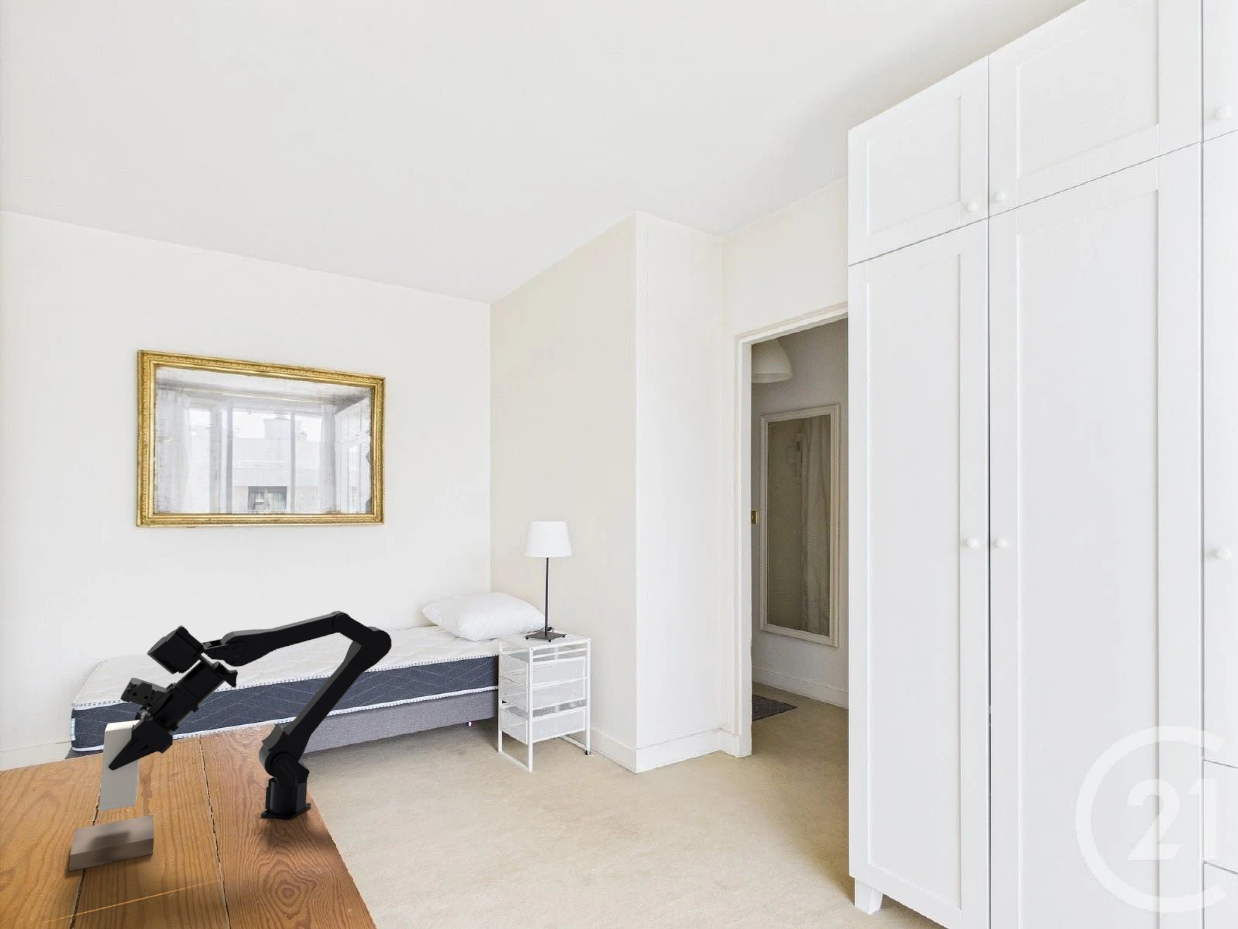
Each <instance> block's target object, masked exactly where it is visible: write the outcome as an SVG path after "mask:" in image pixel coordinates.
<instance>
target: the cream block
mask: <svg viewBox="0 0 1238 929" xmlns="http://www.w3.org/2000/svg"><path fill="white" fill-rule="evenodd" d="M138 721H140V720H136V721H135V720H130V721H119V722H109V723H107V725H106V727H105V730H104V738H103V751H102V765H101V777H100V778H101V779H100V790H99V791H100V792H99V805H98V807H99V808H98V812H104V811H109V810H110V811H111V810H115V809H116V810H118V809H123V808H129V807H135V806H136V805H137V799H138V792H139V791H138V790H139V776H140V764H141V763H140V762H141V758H140V759H138V760H136V761H134V762H131V763H129V764H127V765H125V766H123V767H120V768H118V769H116V770H114V771H112V770H111V769H109V768H108V766H109V764H110V763H111V762H112V761H113V759H114V758H115V757H116V756H117V755H118V753H119V752H120V751H121V750H122V749H123V747H124V746H125V745H126V744H127V743H128V741H129V740H130V739H131V730H132V726H133V724H134V725H136V724H137V723H138Z"/></svg>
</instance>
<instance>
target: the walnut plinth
mask: <svg viewBox="0 0 1238 929" xmlns="http://www.w3.org/2000/svg"><path fill="white" fill-rule="evenodd" d="M154 831H155V830H154V814H150V815H143V816H139V817H138V816H137V817H133V818H128V819H123V820H122V819H121V820H116V821H112V822H111V821H110V822H105V823H99V824H96V825H95V824H94V825H90V826H85V827H80V828H75V829H74V833H73V839H72V844H71V849H70V854H69V865H68V872H73V871H78V870H84V869H87V868H92V867H98V866H102V865H107V864H111V863H116V862H121V861H126V860H130V859H135V858H139V857H143V856H149V855H152V854H154V846H155V843H154V842H155V841H154V840H155V833H154Z"/></svg>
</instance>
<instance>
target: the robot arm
mask: <svg viewBox="0 0 1238 929" xmlns="http://www.w3.org/2000/svg"><path fill="white" fill-rule="evenodd" d="M335 634H341V635H343V636H344V637H345V638H347V639H348V640H350V641H351V643H350V645H349V646H348V649H347V652H346V654H345V657H344V659H343V661H342V662H341V663H340V664H339V666H338V667H337V668H336V669H335V671H333V673H332V674H331V675H330V676H329V678H328V679H327V680H326V681H325V682H324V683H323V685H322V686H321V687H320V689H319V690H318V691H317V692H316V693H315V694H314V696H313V697H312V698H311V699H310V700H309V702H308V703H307V704H306V705H305V706H304V707H303V708H302V710H301V711H300V712H299V713H298V714H297V716H295V718H294V719H293V720H292V721H291V722H289V723H288V724H286V725H285V726H284V727H282V726H281V725H280V724H279V723H276V725H275V726H274V727H273V729H272V730H271V732H270V733H269V735H268V736H266V737H265V738H264V739H262V740H261V743H262V745H261V747H260V749H259V751H258V760H259V762H260V764H261V766H262V767H263V769H264V770H265V772H266V774H268V775H269V776H271V777H270V778H269V779H268V780H267V781H268V782H267V786H266V788H265V798H264V800H265V801H264V809H265V810H264V811H262V812H260V816H261V817H265V818H275V819H284V820H291V819H294V818H295V817H296V816H298V815H299V814H301V813H303V812H304V811H306V810H307V809H309V808H310V807H312V803H311V802H307V794H308V792H307V791H308V790H307V789H308V778H309V775H310V770H309V768H308V767H307V766H306V765H305V763H304V762H303V761H302V760H301V759H302V756H303V755H304V753H305V751H306V749H307V746H308V745H309V744H308V743H309V741H310V739H311V737H312V735H313V734H314V732H315V731H316V730H317V728H319V726H320V725H321V724H322V722H323V721H324V720H325V719H326V718H327V716H328V715H329V714H330V713H331V712H332V710H333V709H334V708H335V707H336V705H337V704H338V703H339V702H340V701H341V699H342V698H343V697H344V695H345V694H346V693H347V692H348V691H349V689H350V688H351V687H352V686H353V685H354V683H355V682H356V681H357V680H358V679H359V677H361V675H362V674H363V673H365V672H366V671H368V670H370V669H371V668H373V667H374V666H377V664H378V663H379V662H380V661H381V660H382V659H384V658H385V657H386V656H387V655H388V654H389V653H390V651H391V650H392V646H393V645H392V638H391V635H390V634H389V632H387V631H385V630H383V629H380V628H378V627H376V626H366V625H364V624H363V623H361V622H360V621H357V620H356V619H354V618H352V617H351V616H350V615H349V614H348V613H347V612H344V611H341V610H334V611H332V612H330V613H328V614H322V615H319V616H316V617H311V618H307V619H304V620H299V621H296V622H292V623H288V624H284V625H280V626H276V627H272V628H264V629H263V628H262V629H261V628H257V629H253V628H252V629H243V630H233V631H230V632H227V633H225V634H224V635H223V637H221V638H218V639H213V640H208V641H204V642H201V641H199V640H198V639H197V637H194V635H192V634H191V633H190V632H189V630H188V629H187V628H186V627H185V626H184V625H183V624H181V625H178V627H177V628H176V629H173V630H172V631H170V632H169V633H167V635H165V636H162V637H161V638H160V639H159V640H157V642H155V643H154V644H153V646H151V648H149V650H148V651H147V653H146V655H147V656H149V657H150V658H151V659H152V660H153V661H154V662H156V663H157V664H158V665H160V666H161V667H162V668H163V669H165V670H166V671H167V672H168V673H169V674H171V675H175V674H176V673H178V674H185V673H186V672H187V671H188V672H187V673H186V674H185V675H184V676H182V677H181V678H180V679H179V680H178V681H177V682H175V681H174V682H173V683H172V682H171V683H169V685H167V686H166V687H164V686H161V685H158V684H156V683H153V682H150V681H147V680H143V679H141V678H137V677H131V678H130V680H129V682H128V684H127V685H126V686H125V689H124V690H123V692H122V693H121V696H120V700H121V701H122V702H125V703H128V704H129V703H132V704H136V705H139V707H138V710H139V711H143V712H142V713H141V712H139V711H136V713H135V715H134V721H136V720H140V721H138V723H137V724H136V725H134V724H133V726H132V730H131V739H130V740H129V741H128V743H127V744H126V745H125V746H124V747H123V749H122V750H121V751H120V752H119V753H118V755H117V756H116V757H115V758H114V759H113V761H112V762H111V763H110V764H109V766H108V768H109V769H111V770H112V771H114V770H116V769H118V768H120V767H123V766H125V765H127V764H129V763H131V762H134V761H136V760H138V759H140V760H141V759H143V758H144V757H147V756H150V755H152V754H155V753H160V754H162V755H163V754H164V753H166V751H168V749H170V748H171V746H173V741H174V732H176V731H177V730H178V729H179V728H180V724H181V723H182V722H183V721H184V720H185V719H187V718H188V717H189V716H190V715H191V714H192V713H196V712H197V711H198V710H199V709H200V705H202V703H204V702H205V701H206V700H208V699H209V697H210V696H211V695H212V694H213V693H215V691H216V690H218V688H220V687H221V686H222V685H223V684H224V683H227V684H228V685H229V686H230V687H231V688H236V687H237V678H238V674H239V672H238V670H237V669H228V668H227V667H226V666H225V665H224V664H223V663H222V662H220V661H224V662H225V664H227V665H229V666H230V667H233V668H238V667H244V666H246V665H249V664H250V663H253V662H255V661H258V660H260V659H262V658H263V657H265V656H266V655H268V654H270V653H272V652H275V651H277V650H280V649H283V648H285V647H290V646H294V645H297V644H301V643H304V642H308V641H311V640H315V639H319V638H323V637H324V638H325V637H327V636H329V635H330V636H331V635H335ZM203 654H204V655H205V656H207V657H208V658H209V659H211V660H215V662H213V663H212V662H211V661H210V660H209V659H208V658H206V657H205V656H204V655H203ZM197 662H198V663H197ZM196 663H197V664H196ZM194 665H195V666H194ZM193 666H194V667H193Z"/></svg>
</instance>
